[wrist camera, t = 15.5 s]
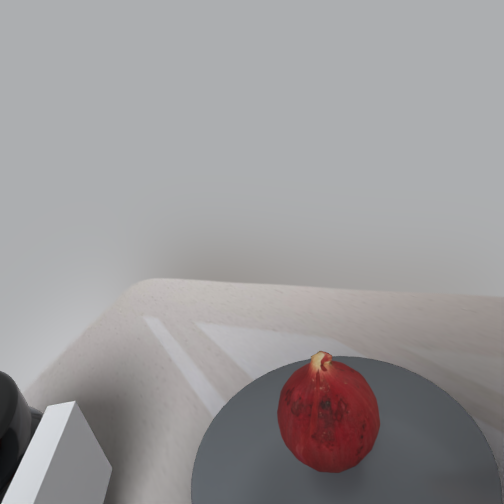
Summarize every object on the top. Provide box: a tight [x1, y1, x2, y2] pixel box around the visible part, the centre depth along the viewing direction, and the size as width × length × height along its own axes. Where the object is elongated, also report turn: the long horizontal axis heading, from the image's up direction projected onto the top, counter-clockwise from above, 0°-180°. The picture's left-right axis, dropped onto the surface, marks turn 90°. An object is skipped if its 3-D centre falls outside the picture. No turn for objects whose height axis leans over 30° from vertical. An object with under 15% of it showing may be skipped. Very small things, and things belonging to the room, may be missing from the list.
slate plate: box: [191, 356, 502, 504], centre depth 28 cm, size 18×18×1 cm
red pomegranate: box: [277, 351, 380, 473], centre depth 26 cm, size 6×6×8 cm
